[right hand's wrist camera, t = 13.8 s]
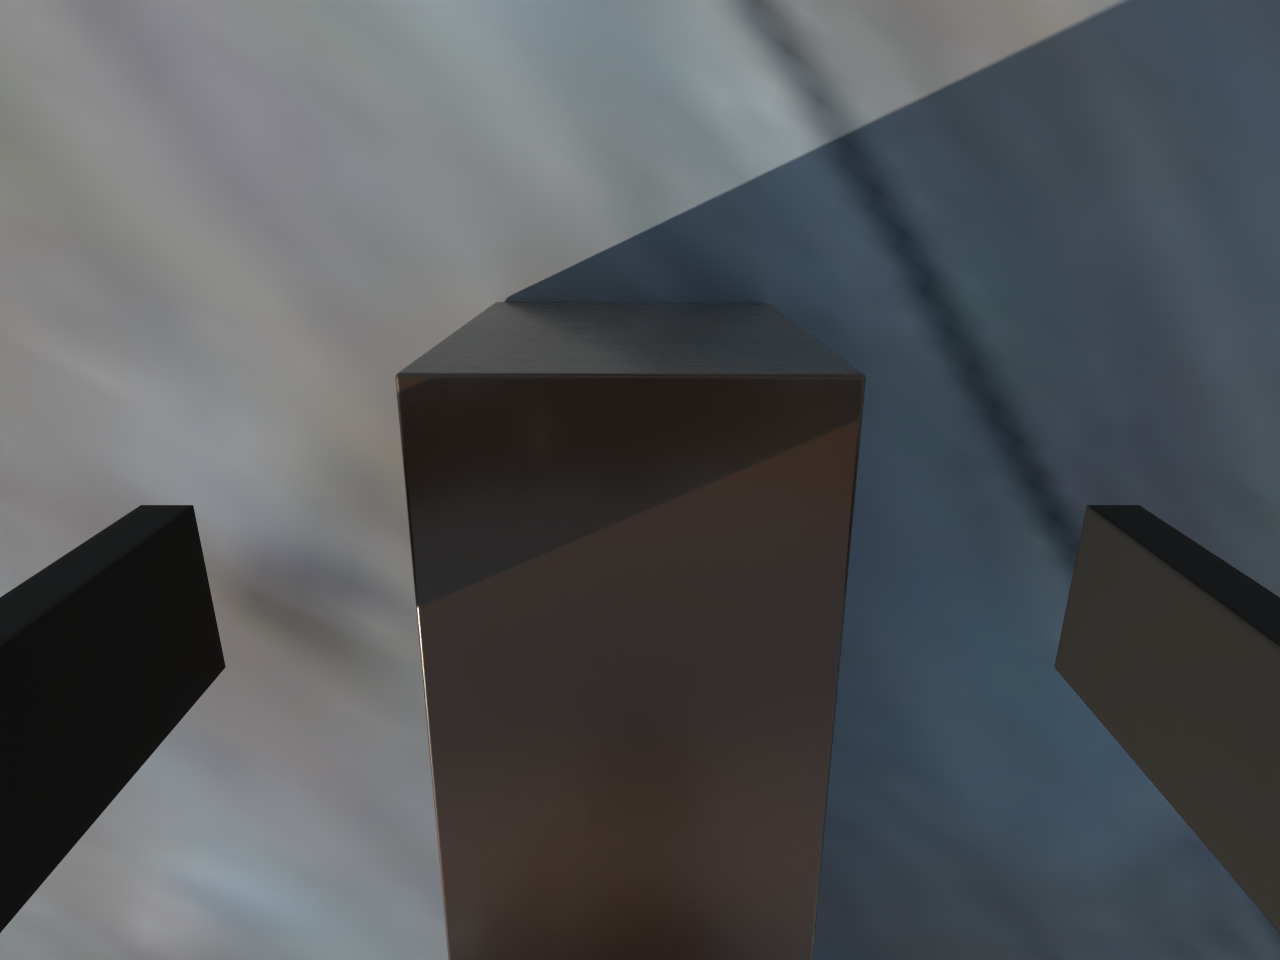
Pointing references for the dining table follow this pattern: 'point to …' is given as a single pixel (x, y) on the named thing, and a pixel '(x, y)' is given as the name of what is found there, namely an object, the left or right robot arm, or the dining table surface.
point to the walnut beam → (630, 624)
